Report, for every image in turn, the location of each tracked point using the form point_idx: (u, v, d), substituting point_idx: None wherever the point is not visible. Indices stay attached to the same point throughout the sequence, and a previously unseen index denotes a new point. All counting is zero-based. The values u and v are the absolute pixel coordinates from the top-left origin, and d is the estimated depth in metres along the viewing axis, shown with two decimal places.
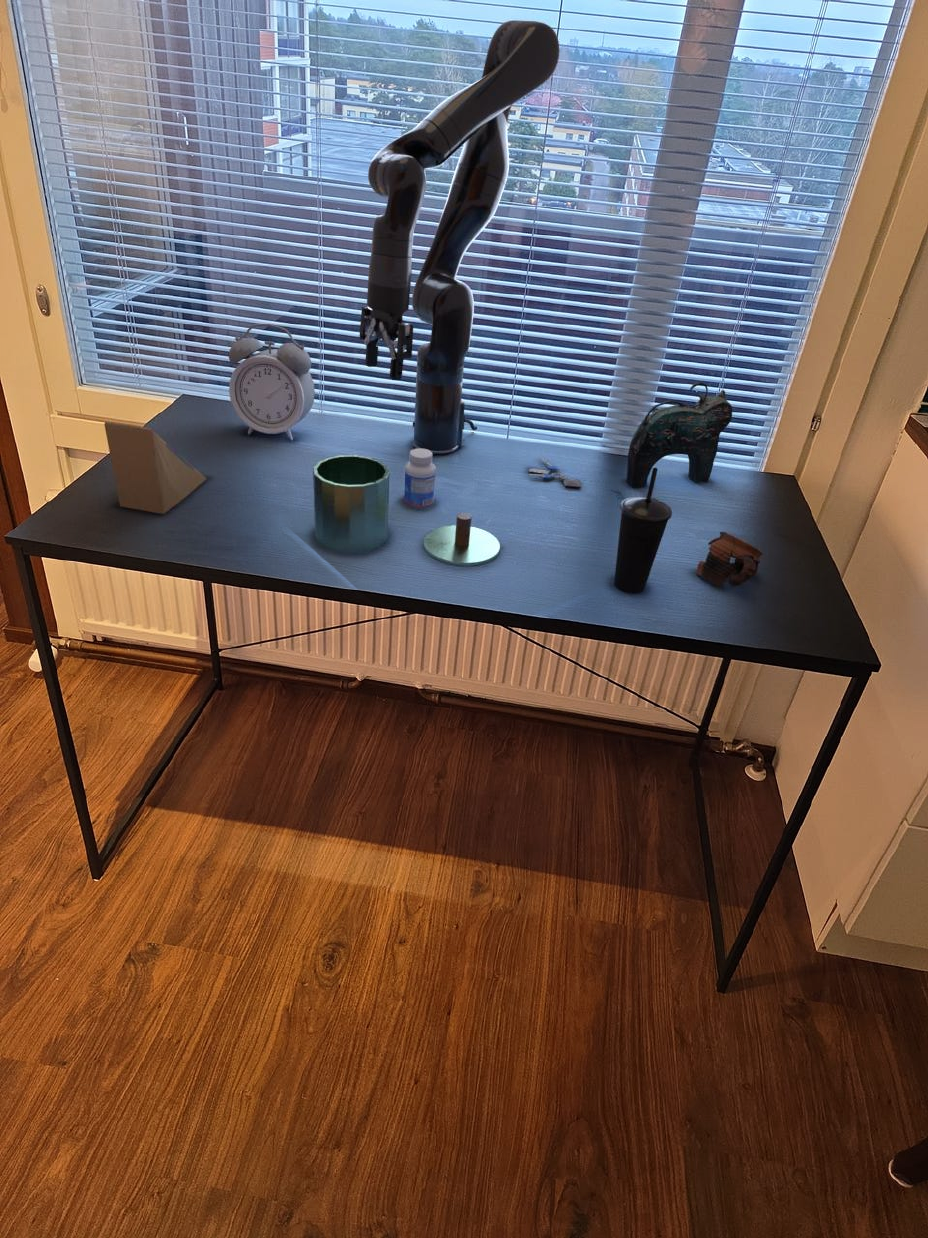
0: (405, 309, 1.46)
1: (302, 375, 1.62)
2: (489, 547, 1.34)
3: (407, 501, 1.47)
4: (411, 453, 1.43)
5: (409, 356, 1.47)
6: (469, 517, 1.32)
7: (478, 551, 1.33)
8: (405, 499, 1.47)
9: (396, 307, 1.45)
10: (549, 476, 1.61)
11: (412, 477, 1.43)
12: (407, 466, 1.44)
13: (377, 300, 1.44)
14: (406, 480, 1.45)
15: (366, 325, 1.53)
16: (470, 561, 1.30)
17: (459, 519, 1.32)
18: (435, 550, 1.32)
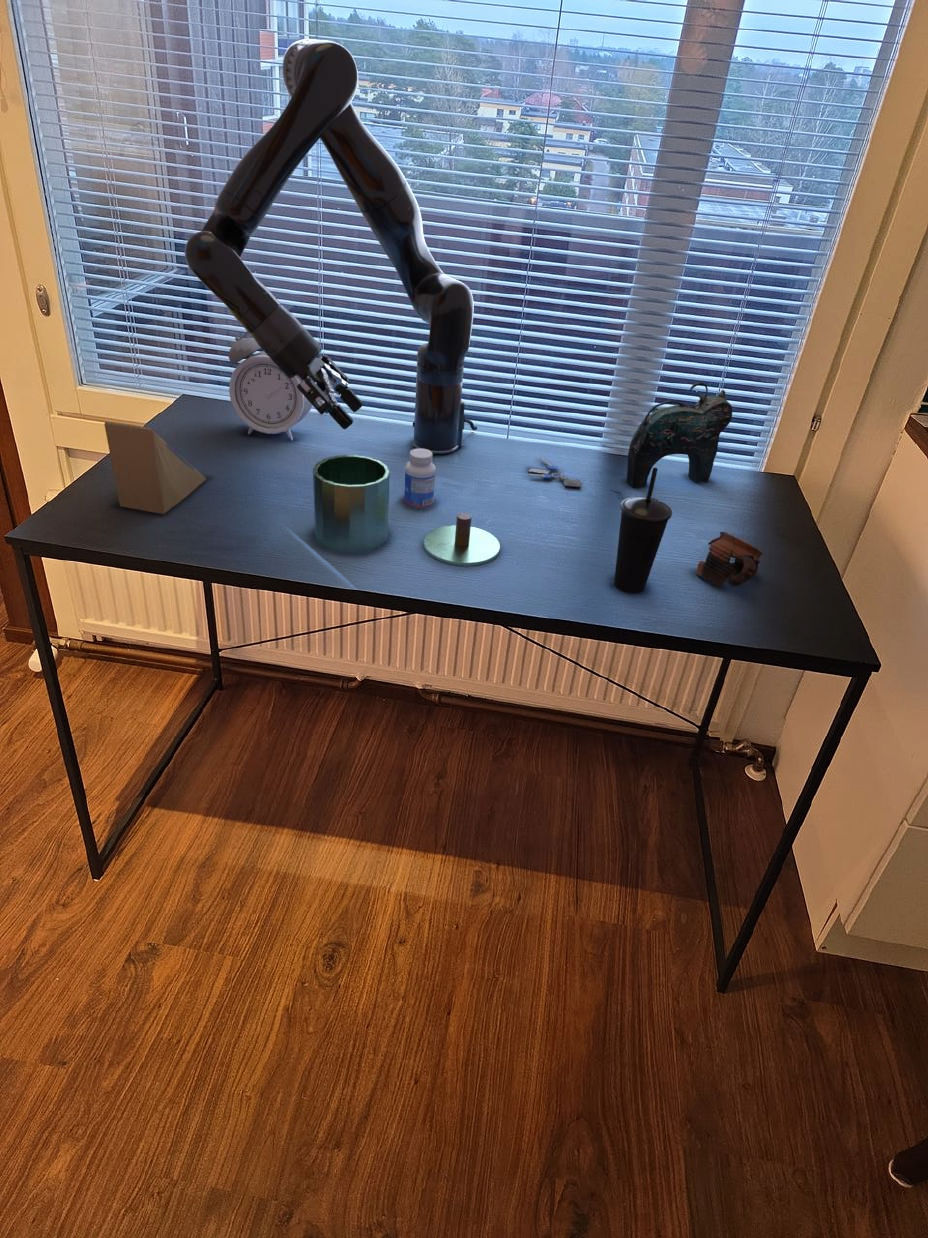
0: (305, 361, 1.32)
1: None
2: (489, 547, 1.34)
3: (407, 501, 1.47)
4: (411, 453, 1.43)
5: (328, 405, 1.32)
6: (469, 517, 1.32)
7: (478, 551, 1.33)
8: (405, 499, 1.47)
9: (294, 367, 1.33)
10: (549, 476, 1.61)
11: (412, 477, 1.43)
12: (407, 466, 1.44)
13: None
14: (406, 480, 1.45)
15: None
16: (470, 561, 1.30)
17: (459, 519, 1.32)
18: (435, 550, 1.32)
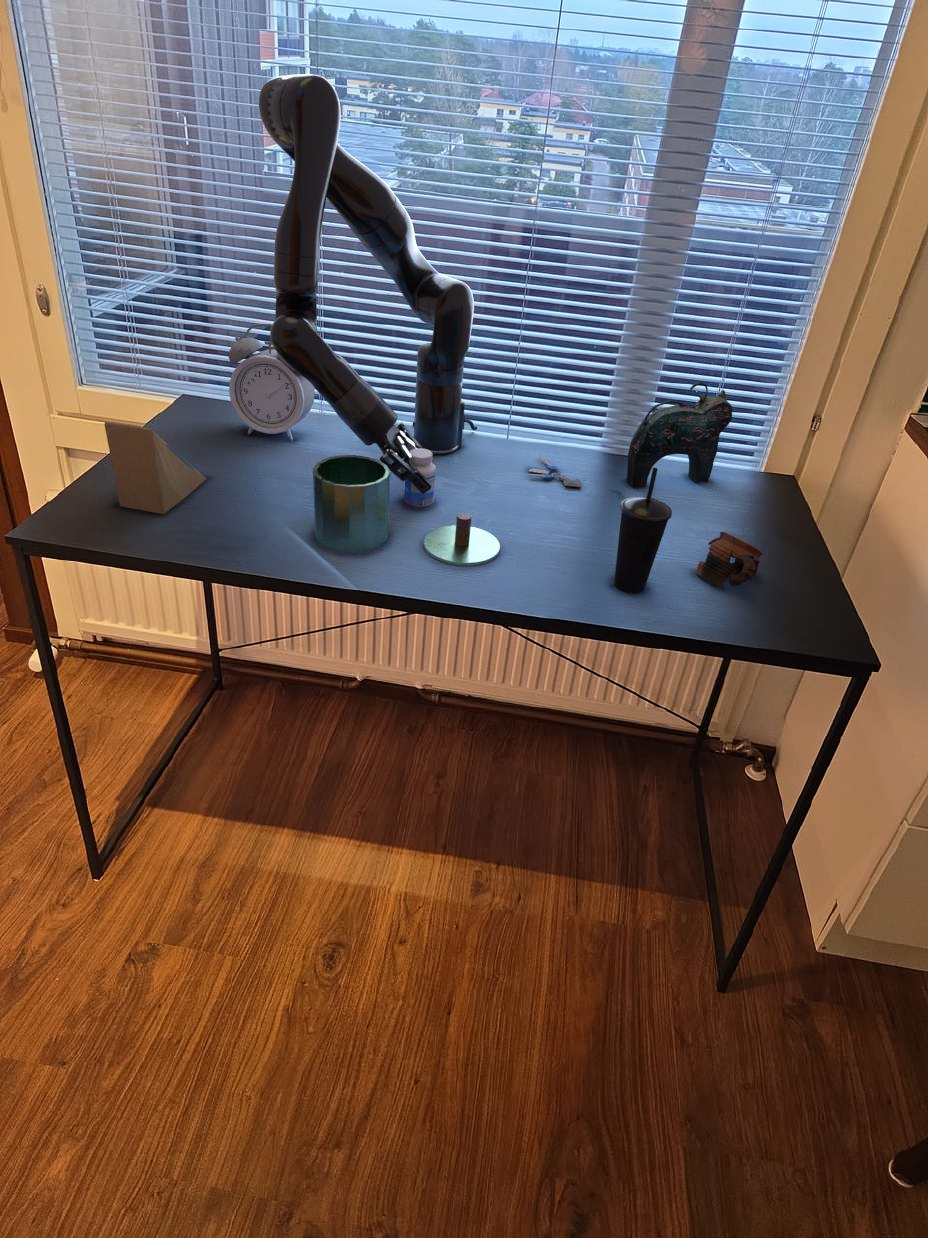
0: (383, 430, 1.38)
1: None
2: (489, 547, 1.34)
3: (407, 501, 1.47)
4: (411, 453, 1.43)
5: (409, 473, 1.39)
6: (469, 517, 1.32)
7: (478, 551, 1.33)
8: (405, 499, 1.47)
9: (372, 436, 1.38)
10: (549, 476, 1.61)
11: None
12: None
13: (360, 439, 1.41)
14: (406, 480, 1.45)
15: None
16: (470, 561, 1.30)
17: (459, 519, 1.32)
18: (435, 550, 1.32)
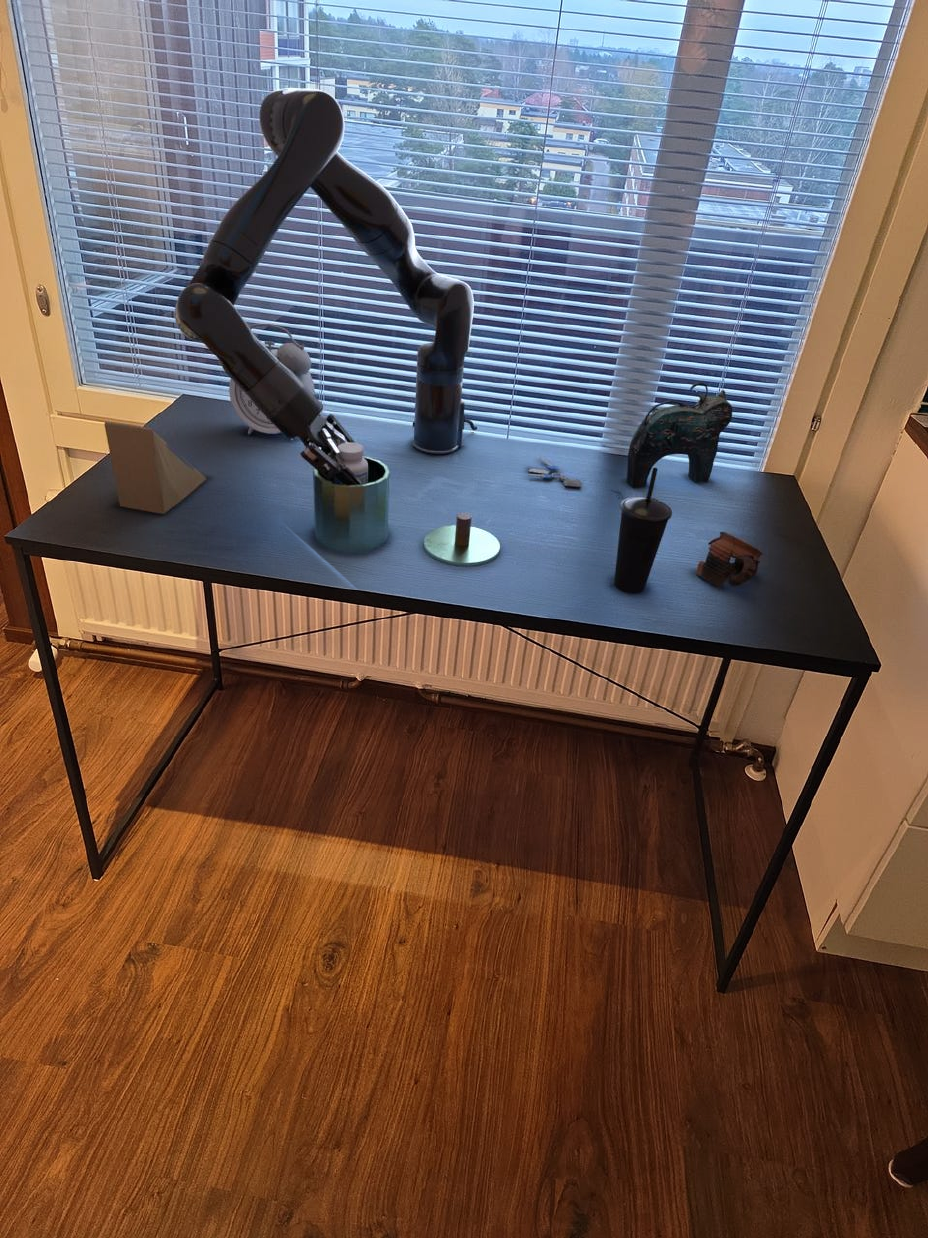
0: (305, 422, 1.22)
1: (302, 375, 1.62)
2: (489, 547, 1.34)
3: None
4: (339, 448, 1.27)
5: (335, 470, 1.24)
6: (469, 517, 1.32)
7: (478, 551, 1.33)
8: None
9: (293, 429, 1.23)
10: (549, 476, 1.61)
11: None
12: None
13: None
14: (334, 478, 1.29)
15: None
16: (470, 561, 1.30)
17: (459, 519, 1.32)
18: (435, 550, 1.32)
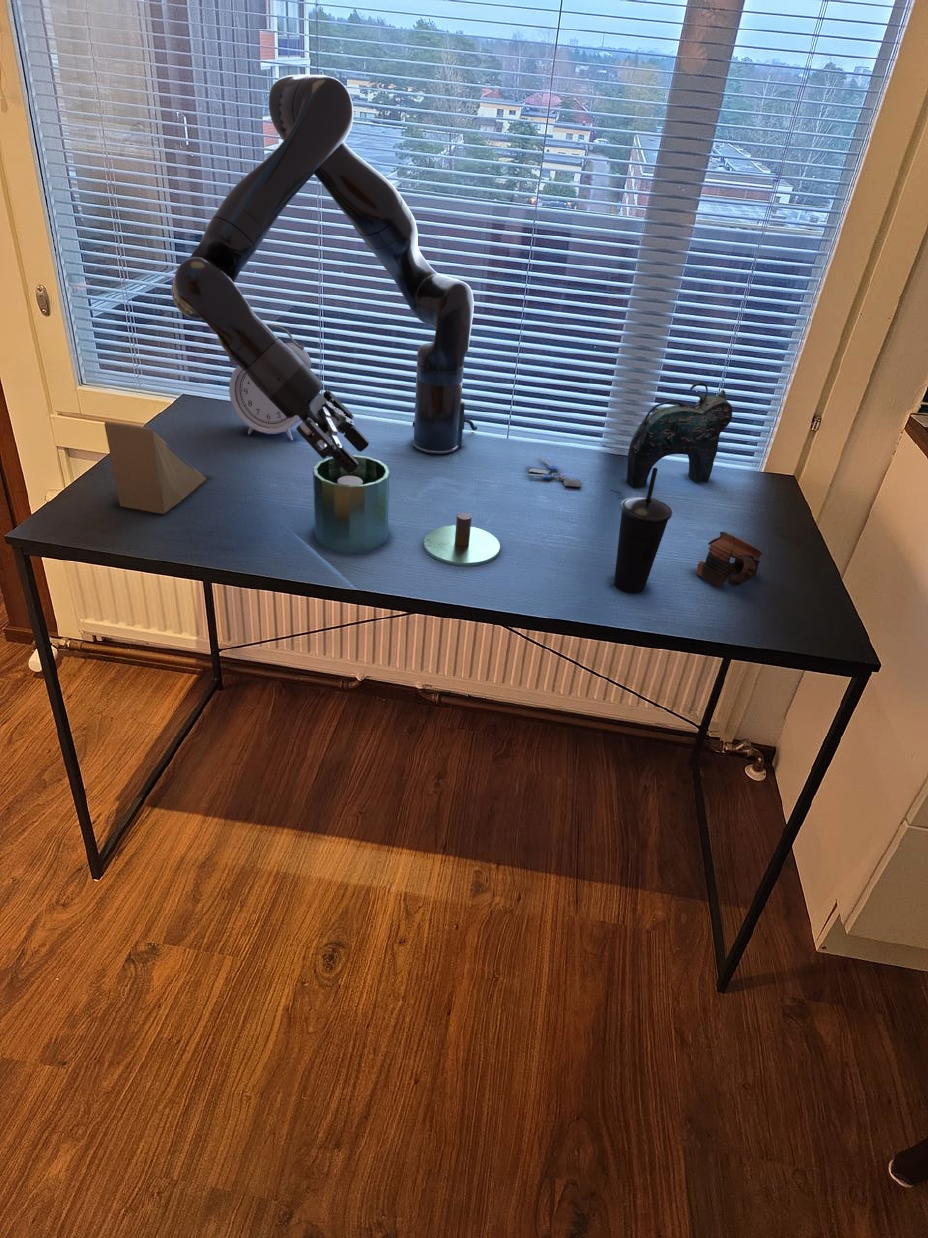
0: (305, 400, 1.20)
1: None
2: (489, 547, 1.34)
3: None
4: (339, 481, 1.30)
5: (330, 449, 1.20)
6: (469, 517, 1.32)
7: (478, 551, 1.33)
8: None
9: (293, 407, 1.21)
10: (549, 476, 1.61)
11: None
12: None
13: (280, 410, 1.23)
14: None
15: None
16: (470, 561, 1.30)
17: (459, 519, 1.32)
18: (435, 550, 1.32)
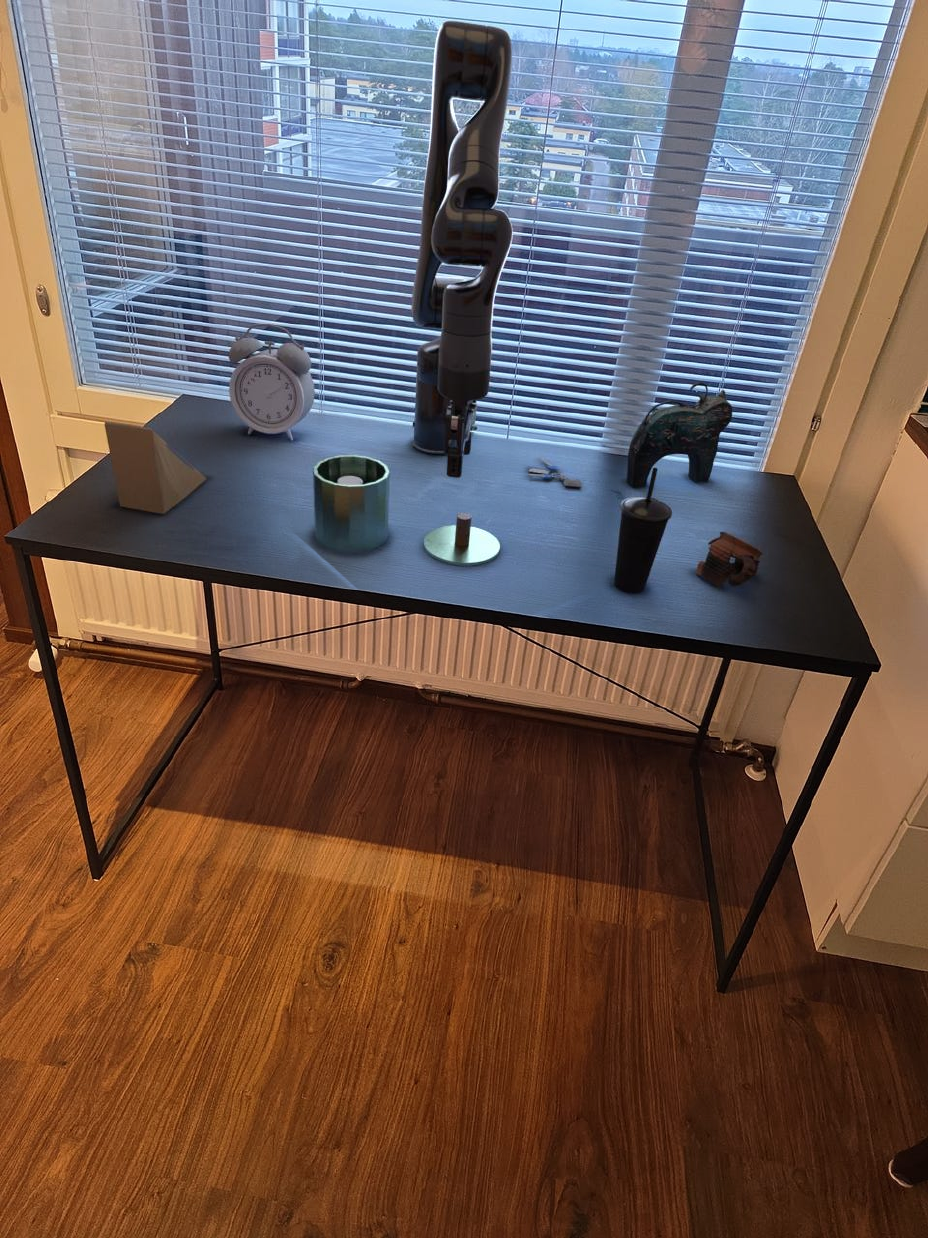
0: (470, 397, 1.17)
1: (302, 375, 1.62)
2: (489, 547, 1.34)
3: None
4: (339, 481, 1.30)
5: (457, 453, 1.19)
6: (469, 517, 1.32)
7: (478, 551, 1.33)
8: None
9: (455, 393, 1.17)
10: (549, 476, 1.61)
11: None
12: None
13: (438, 381, 1.19)
14: None
15: None
16: (470, 561, 1.30)
17: (459, 519, 1.32)
18: (435, 550, 1.32)
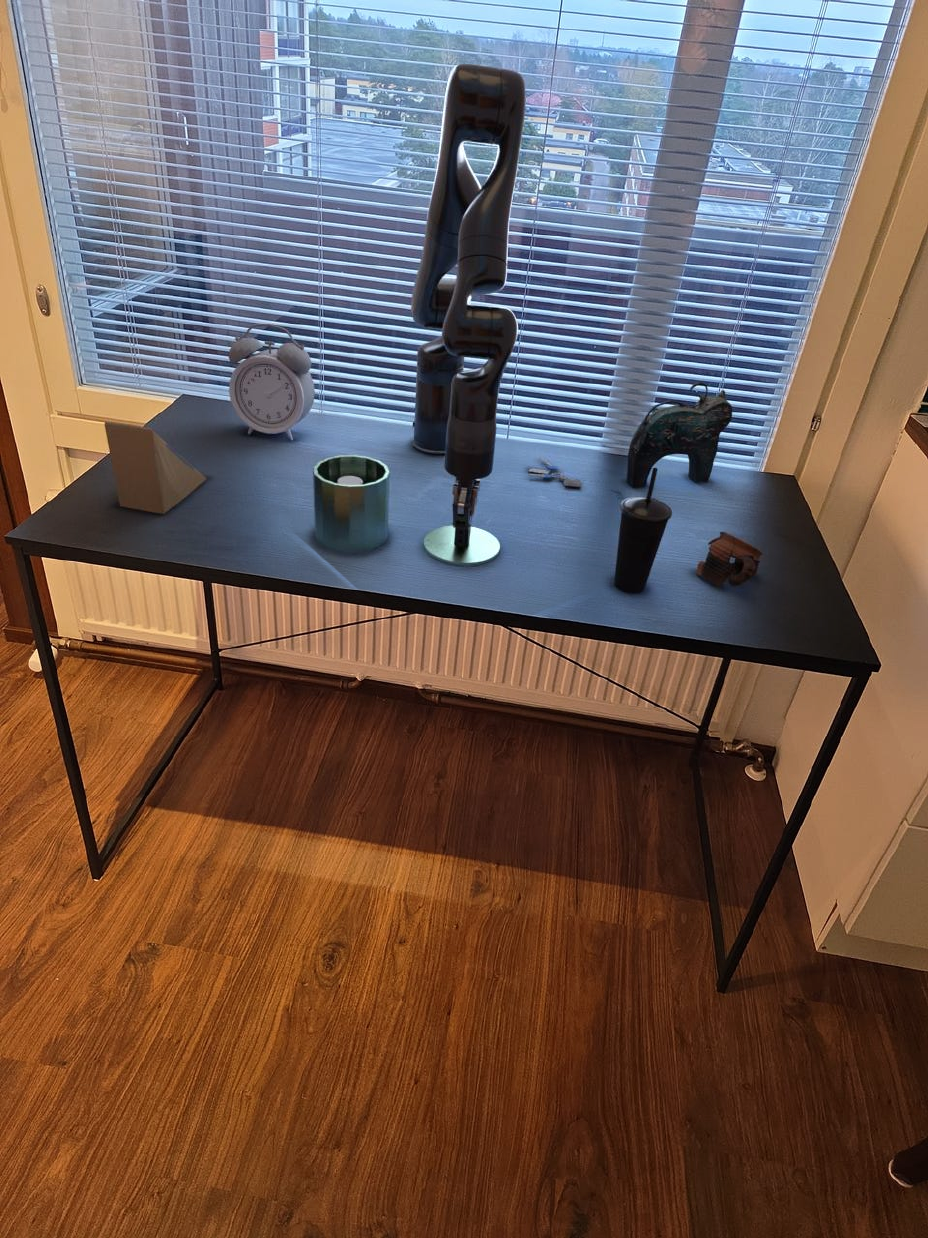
0: (475, 477, 1.24)
1: (302, 375, 1.62)
2: (489, 547, 1.34)
3: None
4: (339, 481, 1.30)
5: (465, 527, 1.28)
6: None
7: (478, 551, 1.33)
8: None
9: (462, 473, 1.24)
10: (549, 476, 1.61)
11: None
12: None
13: (445, 460, 1.26)
14: None
15: None
16: (470, 561, 1.30)
17: None
18: (435, 550, 1.32)
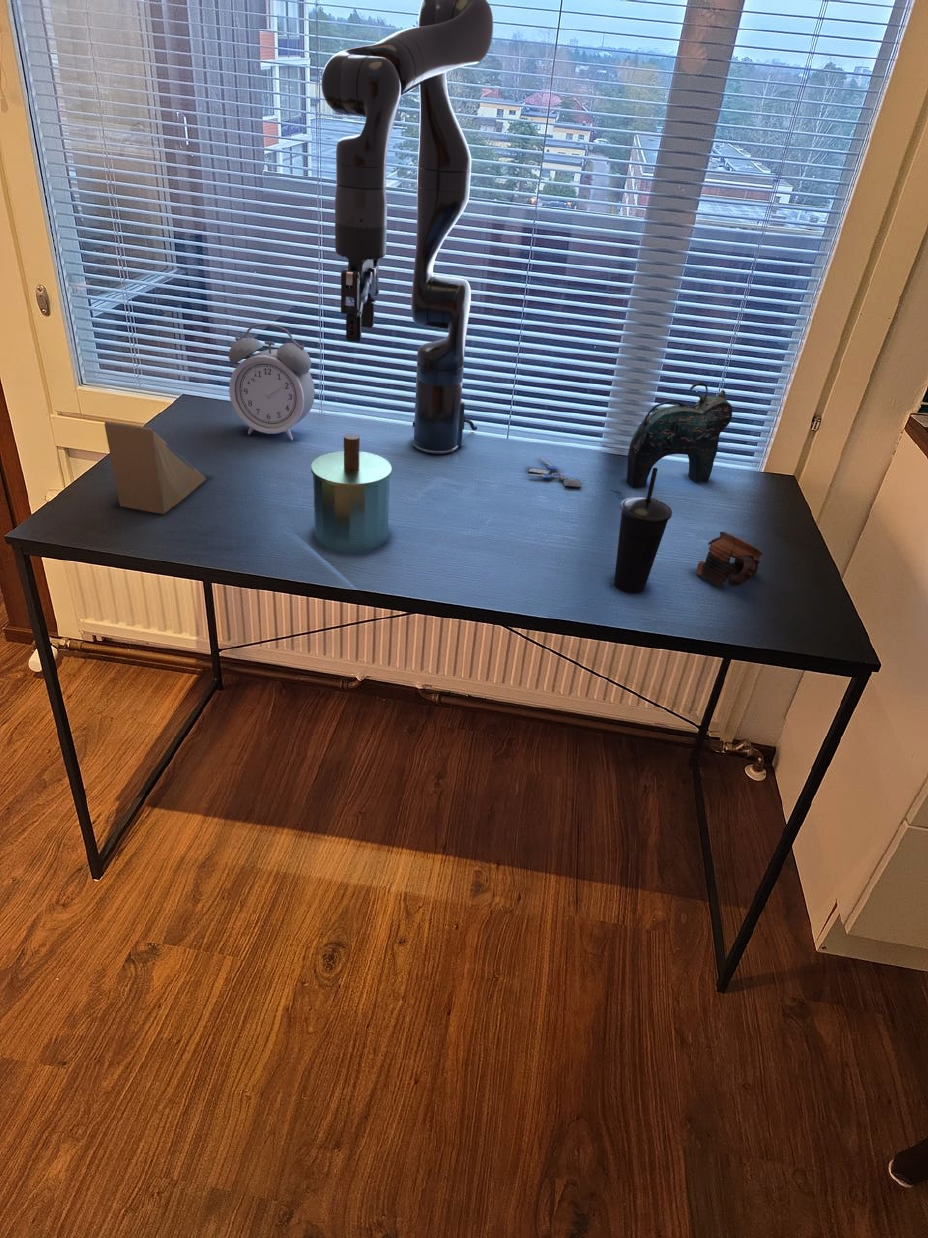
0: (365, 255, 1.19)
1: (302, 375, 1.62)
2: (380, 470, 1.29)
3: None
4: None
5: (354, 312, 1.20)
6: (356, 437, 1.26)
7: (367, 474, 1.27)
8: None
9: (351, 251, 1.19)
10: (549, 476, 1.61)
11: None
12: None
13: (335, 240, 1.20)
14: None
15: None
16: (356, 482, 1.25)
17: (346, 439, 1.26)
18: (321, 472, 1.27)
